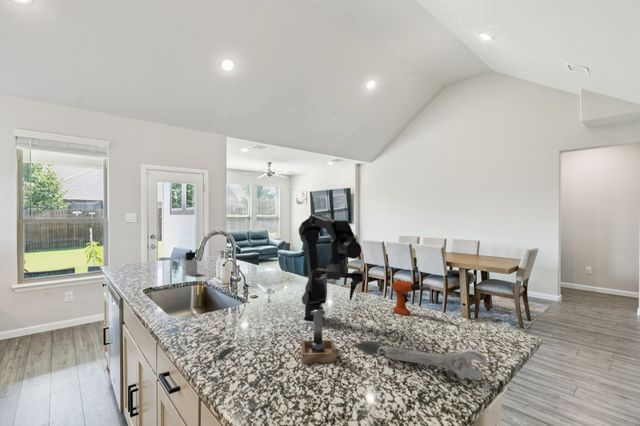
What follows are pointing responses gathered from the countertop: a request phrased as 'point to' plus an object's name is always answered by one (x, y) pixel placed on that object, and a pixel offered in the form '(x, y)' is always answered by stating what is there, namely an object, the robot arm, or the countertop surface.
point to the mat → (369, 347)
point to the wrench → (441, 360)
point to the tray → (311, 357)
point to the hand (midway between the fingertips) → (337, 298)
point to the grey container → (190, 264)
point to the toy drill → (404, 295)
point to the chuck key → (318, 332)
